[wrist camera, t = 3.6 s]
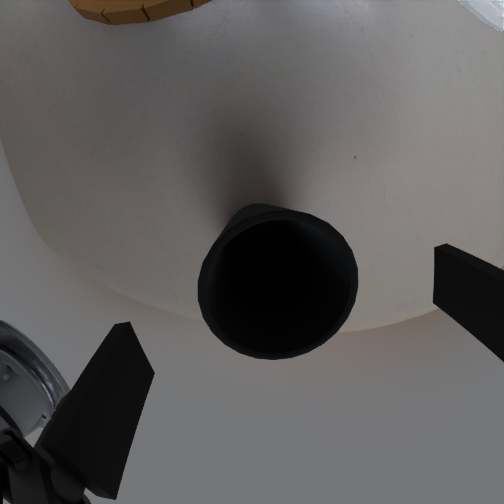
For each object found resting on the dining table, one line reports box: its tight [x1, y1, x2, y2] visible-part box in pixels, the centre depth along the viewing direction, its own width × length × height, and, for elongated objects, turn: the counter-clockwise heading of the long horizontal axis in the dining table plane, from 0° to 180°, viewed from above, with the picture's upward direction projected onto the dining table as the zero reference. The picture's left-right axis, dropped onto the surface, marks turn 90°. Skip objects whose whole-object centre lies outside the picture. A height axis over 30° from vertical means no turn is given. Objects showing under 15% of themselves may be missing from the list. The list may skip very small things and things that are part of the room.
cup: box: [198, 204, 358, 360], centre depth 19 cm, size 8×8×12 cm
